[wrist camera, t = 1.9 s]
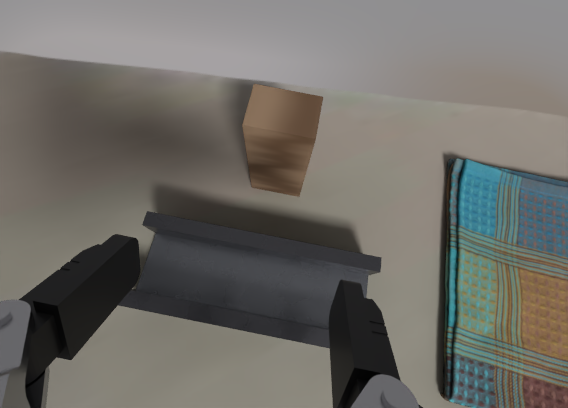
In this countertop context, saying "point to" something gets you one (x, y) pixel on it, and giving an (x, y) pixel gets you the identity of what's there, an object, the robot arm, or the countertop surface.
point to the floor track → (244, 279)
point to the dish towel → (505, 288)
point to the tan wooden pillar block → (280, 137)
